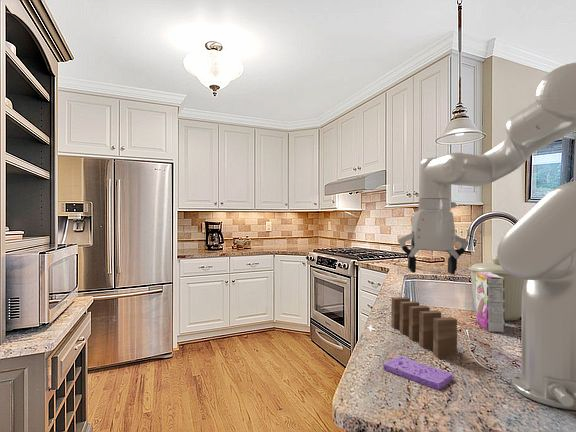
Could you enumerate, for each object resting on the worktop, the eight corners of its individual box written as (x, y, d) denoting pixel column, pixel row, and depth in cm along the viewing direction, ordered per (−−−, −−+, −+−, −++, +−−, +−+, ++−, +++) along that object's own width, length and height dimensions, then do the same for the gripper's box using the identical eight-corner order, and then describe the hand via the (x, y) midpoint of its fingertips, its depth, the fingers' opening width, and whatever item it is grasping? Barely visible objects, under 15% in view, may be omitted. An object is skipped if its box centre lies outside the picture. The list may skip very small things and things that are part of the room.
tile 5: (409, 328, 107) (409, 298, 107) (394, 328, 106) (394, 299, 106) (406, 326, 109) (406, 297, 109) (391, 326, 108) (391, 297, 108)
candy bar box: (474, 321, 115) (474, 271, 115) (491, 322, 114) (491, 272, 114) (486, 332, 104) (486, 276, 104) (505, 333, 103) (505, 277, 103)
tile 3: (429, 340, 96) (429, 307, 96) (412, 341, 95) (412, 307, 95) (425, 337, 98) (425, 305, 98) (408, 338, 97) (409, 306, 97)
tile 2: (441, 347, 91) (441, 312, 91) (423, 348, 90) (423, 313, 90) (436, 344, 93) (436, 310, 93) (419, 345, 92) (419, 311, 92)
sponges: (399, 363, 82) (399, 355, 82) (454, 382, 72) (454, 372, 72) (382, 371, 77) (382, 363, 77) (438, 392, 68) (438, 383, 68)
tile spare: (457, 357, 84) (457, 319, 84) (438, 358, 83) (438, 320, 84) (451, 353, 86) (451, 317, 86) (433, 355, 85) (433, 318, 86)
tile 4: (419, 333, 101) (419, 302, 102) (402, 334, 101) (403, 303, 101) (415, 331, 103) (415, 301, 104) (399, 332, 103) (399, 301, 103)
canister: (494, 308, 132) (494, 252, 132) (543, 322, 115) (543, 257, 115) (456, 312, 126) (456, 253, 126) (501, 327, 109) (501, 259, 109)
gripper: (463, 207, 93) (460, 271, 93) (396, 205, 95) (394, 268, 95) (475, 207, 86) (473, 276, 86) (402, 205, 87) (400, 273, 87)
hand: (431, 272), depth 90 cm, fingers open, 9 cm apart
